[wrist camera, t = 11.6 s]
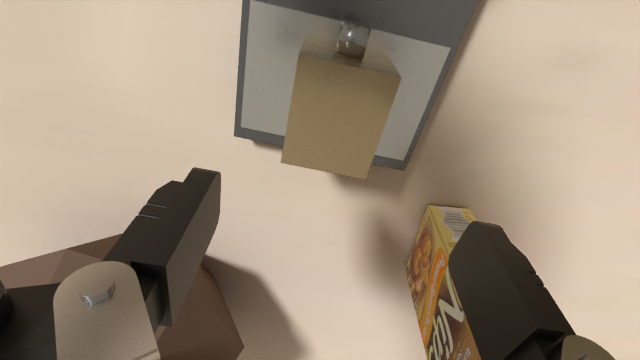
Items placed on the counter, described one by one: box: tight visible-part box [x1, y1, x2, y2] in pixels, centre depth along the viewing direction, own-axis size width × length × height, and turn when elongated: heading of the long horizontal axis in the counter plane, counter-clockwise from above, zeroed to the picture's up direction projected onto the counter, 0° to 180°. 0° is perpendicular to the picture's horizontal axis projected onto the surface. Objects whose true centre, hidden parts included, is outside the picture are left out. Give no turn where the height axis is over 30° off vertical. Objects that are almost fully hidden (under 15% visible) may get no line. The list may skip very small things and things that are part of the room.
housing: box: [281, 19, 402, 180], centre depth 18 cm, size 8×5×5 cm, turn 168°
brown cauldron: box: [0, 234, 244, 360], centre depth 29 cm, size 24×24×16 cm
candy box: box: [405, 205, 481, 360], centre depth 25 cm, size 9×4×15 cm, turn 175°
